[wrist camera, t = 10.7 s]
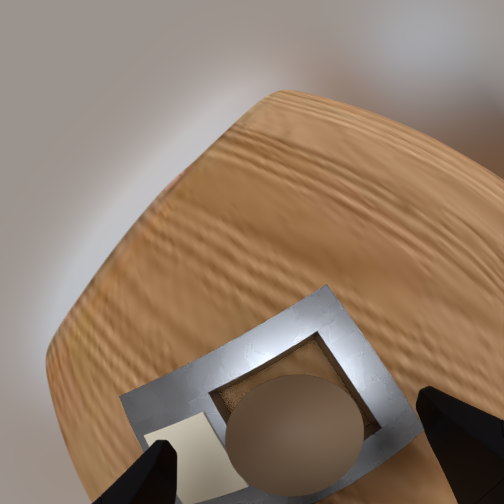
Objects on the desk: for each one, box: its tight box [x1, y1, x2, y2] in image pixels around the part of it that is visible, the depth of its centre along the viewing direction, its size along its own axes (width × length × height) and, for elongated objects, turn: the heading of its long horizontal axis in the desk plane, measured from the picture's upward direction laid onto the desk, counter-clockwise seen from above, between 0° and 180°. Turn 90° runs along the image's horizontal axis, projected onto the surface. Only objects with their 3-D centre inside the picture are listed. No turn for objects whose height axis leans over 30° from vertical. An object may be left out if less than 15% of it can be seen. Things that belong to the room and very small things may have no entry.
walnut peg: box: [225, 375, 364, 497], centre depth 11 cm, size 4×4×10 cm
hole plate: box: [119, 284, 424, 504], centre depth 14 cm, size 12×16×3 cm
